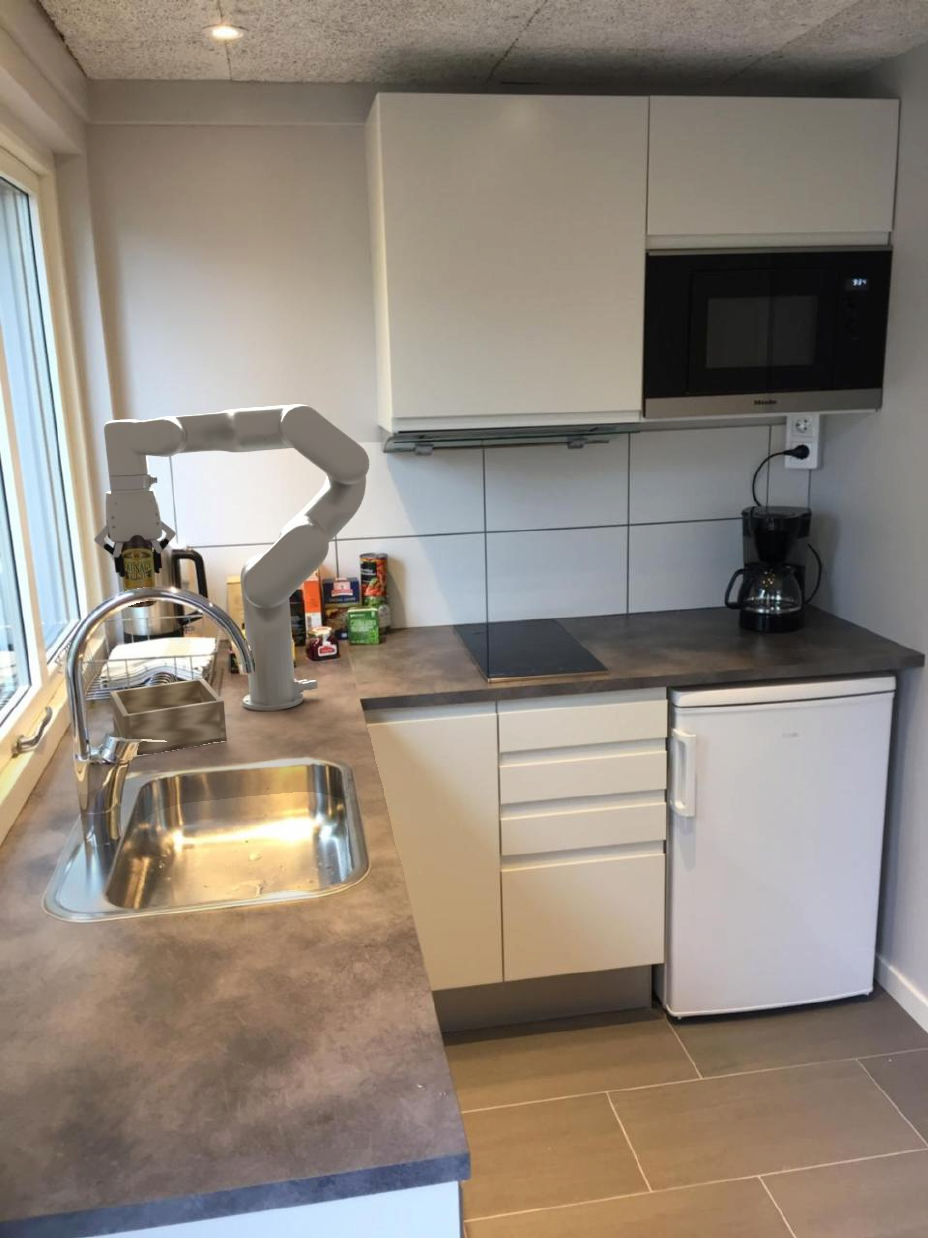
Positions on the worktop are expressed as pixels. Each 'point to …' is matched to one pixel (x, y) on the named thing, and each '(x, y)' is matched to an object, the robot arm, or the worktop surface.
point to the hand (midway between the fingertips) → (139, 573)
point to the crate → (169, 715)
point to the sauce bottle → (138, 566)
